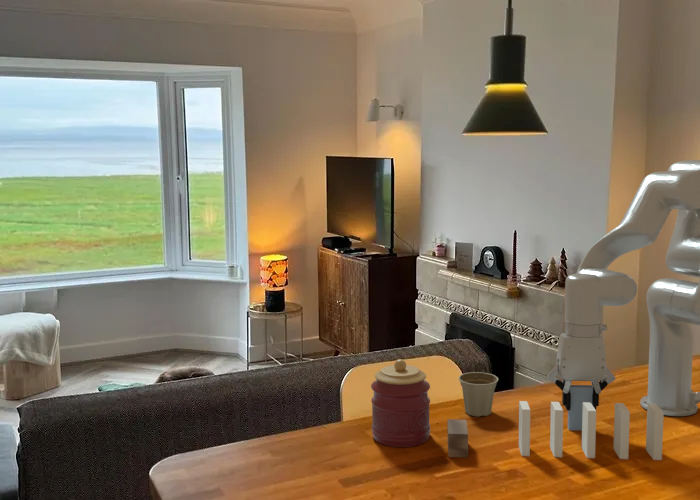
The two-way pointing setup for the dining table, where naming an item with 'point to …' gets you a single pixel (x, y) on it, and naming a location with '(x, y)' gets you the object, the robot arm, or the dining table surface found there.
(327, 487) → the dining table surface
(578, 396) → the tile
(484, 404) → the flower pot
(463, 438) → the end block
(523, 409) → the tile
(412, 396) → the canister
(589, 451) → the tile
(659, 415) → the tile
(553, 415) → the tile
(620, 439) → the tile
